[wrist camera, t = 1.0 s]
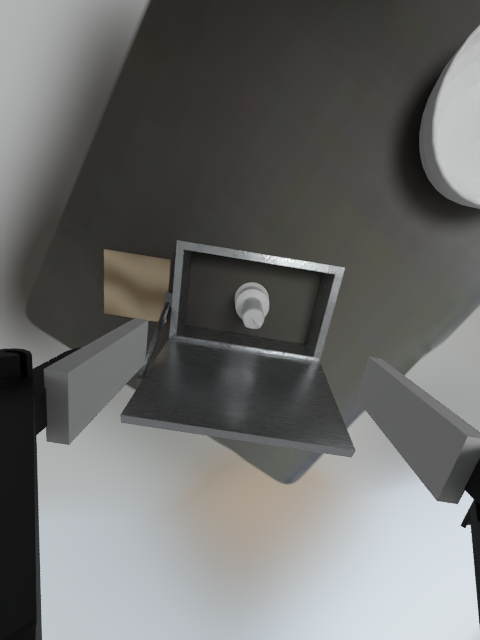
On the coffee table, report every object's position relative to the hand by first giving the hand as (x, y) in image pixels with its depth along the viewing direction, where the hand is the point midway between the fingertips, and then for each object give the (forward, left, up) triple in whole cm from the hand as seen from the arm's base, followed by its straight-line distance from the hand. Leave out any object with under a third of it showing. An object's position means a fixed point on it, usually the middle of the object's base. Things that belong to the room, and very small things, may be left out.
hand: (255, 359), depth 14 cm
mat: (+2, -18, -24) cm, 30 cm away
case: (+3, 0, -24) cm, 25 cm away
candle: (+1, 0, -25) cm, 25 cm away
